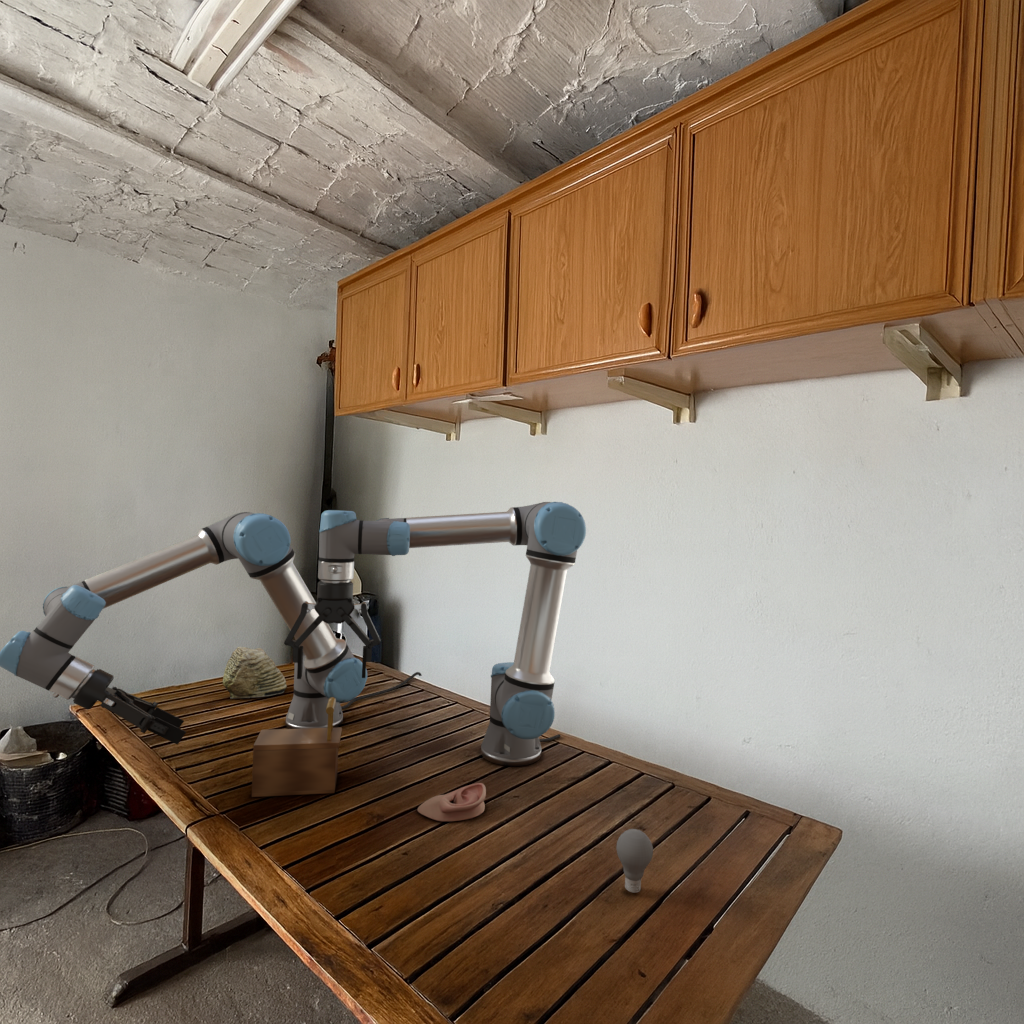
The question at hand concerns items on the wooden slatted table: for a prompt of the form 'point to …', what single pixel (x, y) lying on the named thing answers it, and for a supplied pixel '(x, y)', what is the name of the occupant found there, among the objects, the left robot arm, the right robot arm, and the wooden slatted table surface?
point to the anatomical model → (456, 804)
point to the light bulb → (634, 857)
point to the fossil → (252, 674)
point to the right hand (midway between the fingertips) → (332, 677)
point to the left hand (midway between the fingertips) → (181, 732)
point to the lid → (301, 736)
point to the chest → (294, 772)
